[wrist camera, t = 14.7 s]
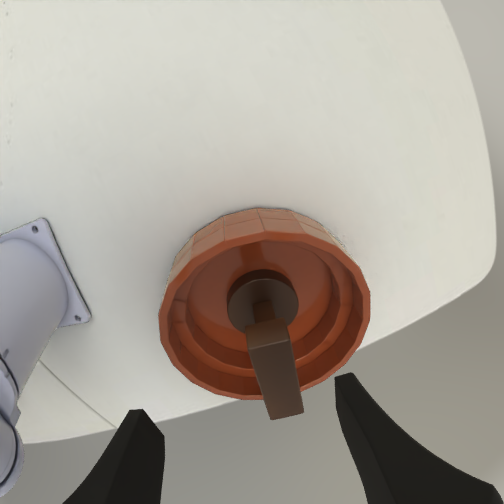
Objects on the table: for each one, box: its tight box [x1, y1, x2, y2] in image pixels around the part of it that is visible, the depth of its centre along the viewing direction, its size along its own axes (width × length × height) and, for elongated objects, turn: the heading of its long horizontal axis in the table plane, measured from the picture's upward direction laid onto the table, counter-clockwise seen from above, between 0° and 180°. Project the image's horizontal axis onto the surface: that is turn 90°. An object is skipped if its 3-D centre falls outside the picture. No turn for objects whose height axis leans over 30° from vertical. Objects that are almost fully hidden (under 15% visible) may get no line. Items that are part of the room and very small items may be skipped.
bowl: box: [158, 208, 370, 400], centre depth 19 cm, size 12×12×4 cm
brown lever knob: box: [227, 269, 304, 420], centre depth 17 cm, size 4×6×7 cm
